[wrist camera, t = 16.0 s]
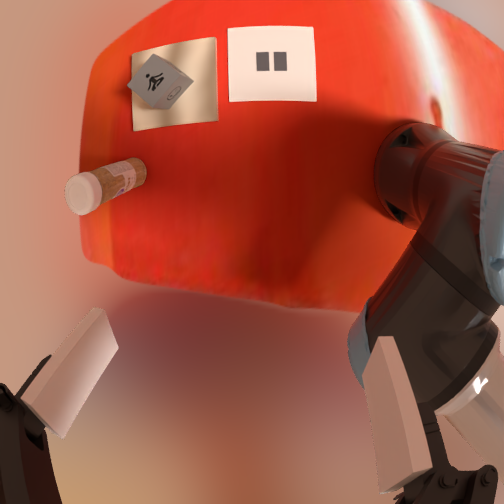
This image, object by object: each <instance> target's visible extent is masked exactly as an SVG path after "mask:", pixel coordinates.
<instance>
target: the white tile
mask: <svg viewBox="0 0 504 504" xmlns="http://www.w3.org/2000/svg"><path fill="white" fill-rule="evenodd" d="M228 76H229V102H237V101H269V100H281V101H312V102H317V97H316V67H315V48H314V33H313V27H300V26H255V27H239V28H228Z"/></svg>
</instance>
